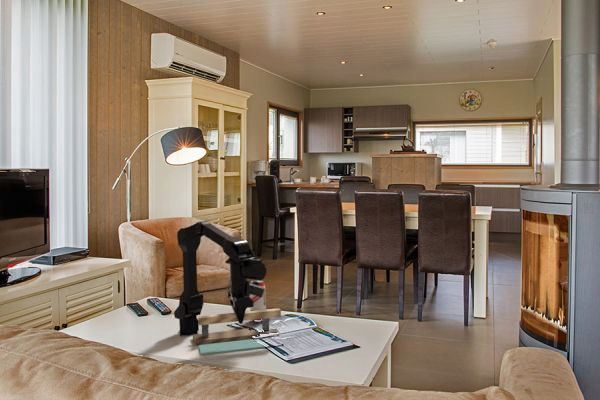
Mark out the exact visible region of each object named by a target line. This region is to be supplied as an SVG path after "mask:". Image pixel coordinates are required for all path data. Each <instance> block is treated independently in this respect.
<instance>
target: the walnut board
mask: <svg viewBox="0 0 600 400" xmlns="http://www.w3.org/2000/svg"><path fill="white" fill-rule="evenodd" d="M247 329H248V328H242V329H232V330H225V331H224V330H223V331H214V332H213V331H212V332H208V333H209V338H203V337H202V333H198V334H192V340H193V342H194V343H193V344H194V346H199V345H206V344H215V343H223V342H232V341H240V340H249V339H252V336H257V335H260V334H269V333H277V332H279V333H280V331H279V330H278V329H277V328H276V329H270V330H269V331H264V332H263V331H262V332H258V331H255V330H251V331H250V330H247Z"/></svg>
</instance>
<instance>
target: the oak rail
mask: <svg viewBox="0 0 600 400" xmlns="http://www.w3.org/2000/svg"><path fill="white" fill-rule="evenodd" d="M281 317H282V310H281V309H280V307H278V308H269V309H268V308H266V310H257V311H250V310H249V311H245V315H244V319H243V322H244V321H245V322H246V321H252V320H255V319H265V318H270V319H271V318H272V319H273V318H274V319H275V318H281ZM197 319H198V323H199V326H202V325H207V324H208V325H214V324H225V323H233V322H234V323H235V322H238V319H237V316H236V314H235V313H234V312H228V313H227V312H226V313H217V314H209V315H207V314H206V315H197Z"/></svg>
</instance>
